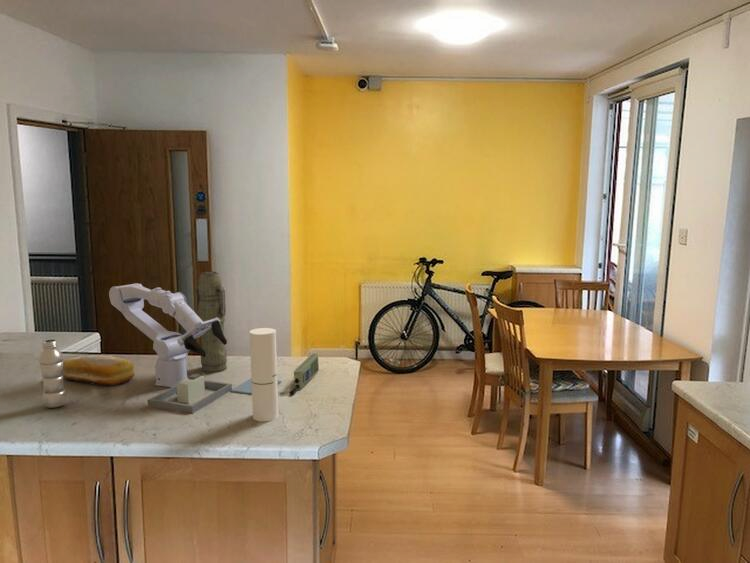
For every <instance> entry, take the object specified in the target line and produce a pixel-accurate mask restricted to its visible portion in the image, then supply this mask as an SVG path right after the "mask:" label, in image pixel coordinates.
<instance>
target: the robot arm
mask: <svg viewBox="0 0 750 563" xmlns="http://www.w3.org/2000/svg"><path fill="white" fill-rule="evenodd" d="M108 296H109V302H110V304H111V306H113V307H114V308H116V310H118V311H119V312H121V314H122V315H123V316H124V317H125V319H126V320H127V321H128V322H129V323H131V324H132V325H133V326H134V327H135V328H137V329H138V330H139V331H140V332H142V333H143V334H144V335H145V336H146V337H148V338H149V339H150V340H151V341H153V344H152V349H153V351H155V353H156V355H157V356H158V358H157V359H156V362H155V367H154V368H155V383H154V385H155V386H158V387H159V386H160V387H166V388H172V387H174V386H176V385H177V383H178V382H180V381H182V380H184V379H186V378H188V373H187V372H188V371H187V370H188V369H187V357H188V356H189V355H188V354H189V352H190V351H191V352H193V353H196V354H197V355H200V357H201V356H203V357H205V356H206V352H205V351H204V350H203V349H202V346H201V345H200V344H199V343H198V342H197V340H196V339H198V338H200V337H201V335H203V334H204V333H205V332H206V331H208V330H210V329H212V331H213V335H214V336H216V337H217V338H218V339H219V340H220V341H221V342H222V343H223V344H224V345H227V344H228V340H227V339H226V337H225V334H224V335H223V332H222V330H221V326H220V325H221V320H220V319H219V318H218V317H217V318H214V319H212V320H208V321H205V322H203V321H202V320H201V319H200V318H199V314H197V313H196V312H195V310H193V309H192V307H190V306H189V305H188V302H187V298H186V296H185V294H183V293H182V292H181V291H178V292H175V293H173V292H171V290H164V289H162V287H155V288H153V289H151V288H147V287H145V286H143V285H142V283H137V282H134V283H132V284H124V285H117V286H111V287H110V289H109V292H108ZM145 300H146V301H147V302H148V303H149V305H151V306H154V307H157V308H160V309H161V310H162V312H163V313H164V314H167V315H169V316H170V317H173V318H174V319H175V320H176V321H177V322H178V324H179V325H180V326H181V327H182V328H183V329H184V330H185V331H186V332H185V333H184V334H181V333H180V332H178V331H171V330H170V331H169V330H167V328H165V327H164V326H163V325H161V323H159V322H158V321H156V320H155V319H154V318H152V317H151V316H150V315H149V314H148V313H146V312H145V311H143V309H144V307H145V303H144V302H145Z"/></svg>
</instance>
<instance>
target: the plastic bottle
mask: <svg viewBox="0 0 750 563" xmlns="http://www.w3.org/2000/svg"><path fill="white" fill-rule="evenodd" d="M41 343H42V349H43V350H42V352H41V354H40V355H39V357H38V363H39V367H40V370H41V375H42V381H43V382H42V385H43V386H42V388H43V389H42V391H43V392H42V403H43V405H44V406H45V407H46V408H49V409H52V408H58V407H62V406H64V405H65V404H67V403H66V402H67V401H68V393H67V389H66V386H65V382H64V376H63V362H64V354H63V353H62V352H61V351H60V350H59V349H58V348H57V347H58V344H57V339H46V340H43V341H42V342H41Z"/></svg>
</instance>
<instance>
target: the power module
mask: <svg viewBox="0 0 750 563" xmlns="http://www.w3.org/2000/svg"><path fill="white" fill-rule="evenodd" d="M204 380H205V376H204V375H201V374H199V373H193V374H191V375H189V376H187V378H186V379H184V380H182V381H180V382H178V383H177V393H176V394H177V397H176V398H177V403H182V404H190V403H192V402H194V401H195V400H197V399H199V398H201V397H203V396H204V395H205V394H206V391H205V389H206V388H205V386H204Z"/></svg>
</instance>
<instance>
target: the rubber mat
mask: <svg viewBox="0 0 750 563" xmlns="http://www.w3.org/2000/svg"><path fill="white" fill-rule="evenodd" d="M281 383H282V380H279V379H277V386H278V385H279V384H281ZM230 392H231V393H236V394H237V393H238V394H244V395H251V396H252V381H251V377H250V378H249V379H247V380H245V381H244V382H242V383H240V384H239V385H236V386H235V387H234V388H232V390H231V391H230Z"/></svg>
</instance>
